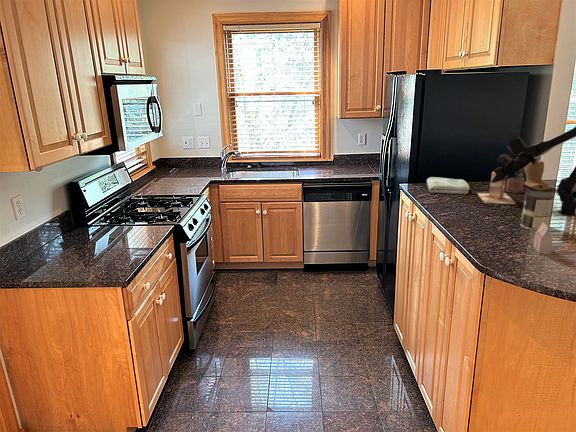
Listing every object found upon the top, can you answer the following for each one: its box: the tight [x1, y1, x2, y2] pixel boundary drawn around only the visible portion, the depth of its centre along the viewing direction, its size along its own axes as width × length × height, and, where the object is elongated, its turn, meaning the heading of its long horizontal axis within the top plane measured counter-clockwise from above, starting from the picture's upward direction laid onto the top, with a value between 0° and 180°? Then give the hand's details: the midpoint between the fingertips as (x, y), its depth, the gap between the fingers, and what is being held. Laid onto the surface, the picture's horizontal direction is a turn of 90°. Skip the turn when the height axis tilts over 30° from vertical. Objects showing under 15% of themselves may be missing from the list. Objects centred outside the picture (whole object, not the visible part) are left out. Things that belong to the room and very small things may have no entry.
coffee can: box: [520, 190, 555, 231], centre depth 178 cm, size 10×10×14 cm
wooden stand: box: [523, 159, 552, 191], centre depth 238 cm, size 15×12×15 cm
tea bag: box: [532, 222, 554, 255], centre depth 155 cm, size 4×7×10 cm, turn 166°
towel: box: [426, 176, 471, 195], centre depth 240 cm, size 18×21×5 cm
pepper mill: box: [488, 171, 507, 199], centre depth 218 cm, size 5×5×14 cm
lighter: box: [505, 173, 525, 194], centre depth 231 cm, size 8×3×10 cm, turn 62°
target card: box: [476, 192, 517, 205], centre depth 220 cm, size 18×14×1 cm
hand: (495, 181), depth 219 cm, fingers open, 6 cm apart
